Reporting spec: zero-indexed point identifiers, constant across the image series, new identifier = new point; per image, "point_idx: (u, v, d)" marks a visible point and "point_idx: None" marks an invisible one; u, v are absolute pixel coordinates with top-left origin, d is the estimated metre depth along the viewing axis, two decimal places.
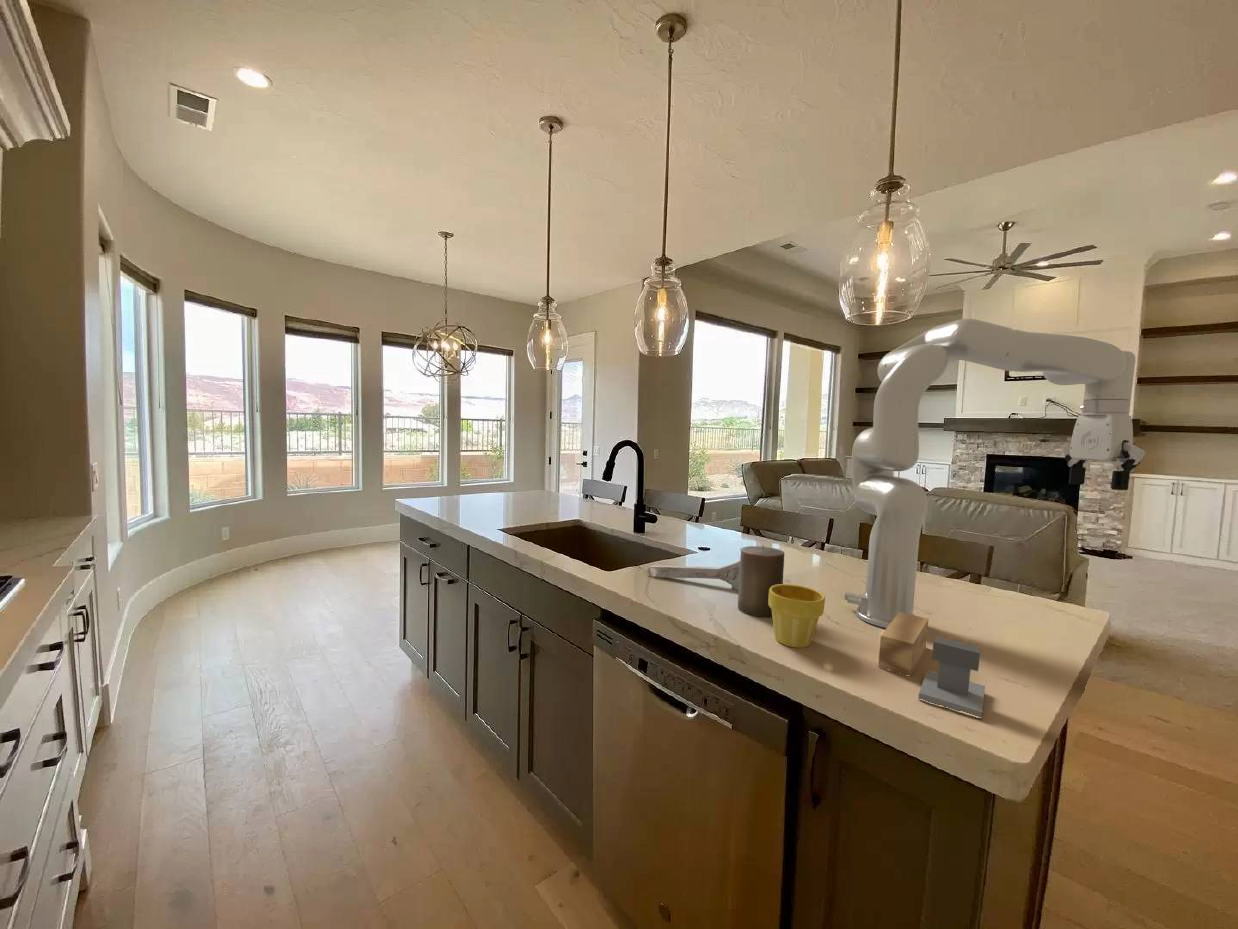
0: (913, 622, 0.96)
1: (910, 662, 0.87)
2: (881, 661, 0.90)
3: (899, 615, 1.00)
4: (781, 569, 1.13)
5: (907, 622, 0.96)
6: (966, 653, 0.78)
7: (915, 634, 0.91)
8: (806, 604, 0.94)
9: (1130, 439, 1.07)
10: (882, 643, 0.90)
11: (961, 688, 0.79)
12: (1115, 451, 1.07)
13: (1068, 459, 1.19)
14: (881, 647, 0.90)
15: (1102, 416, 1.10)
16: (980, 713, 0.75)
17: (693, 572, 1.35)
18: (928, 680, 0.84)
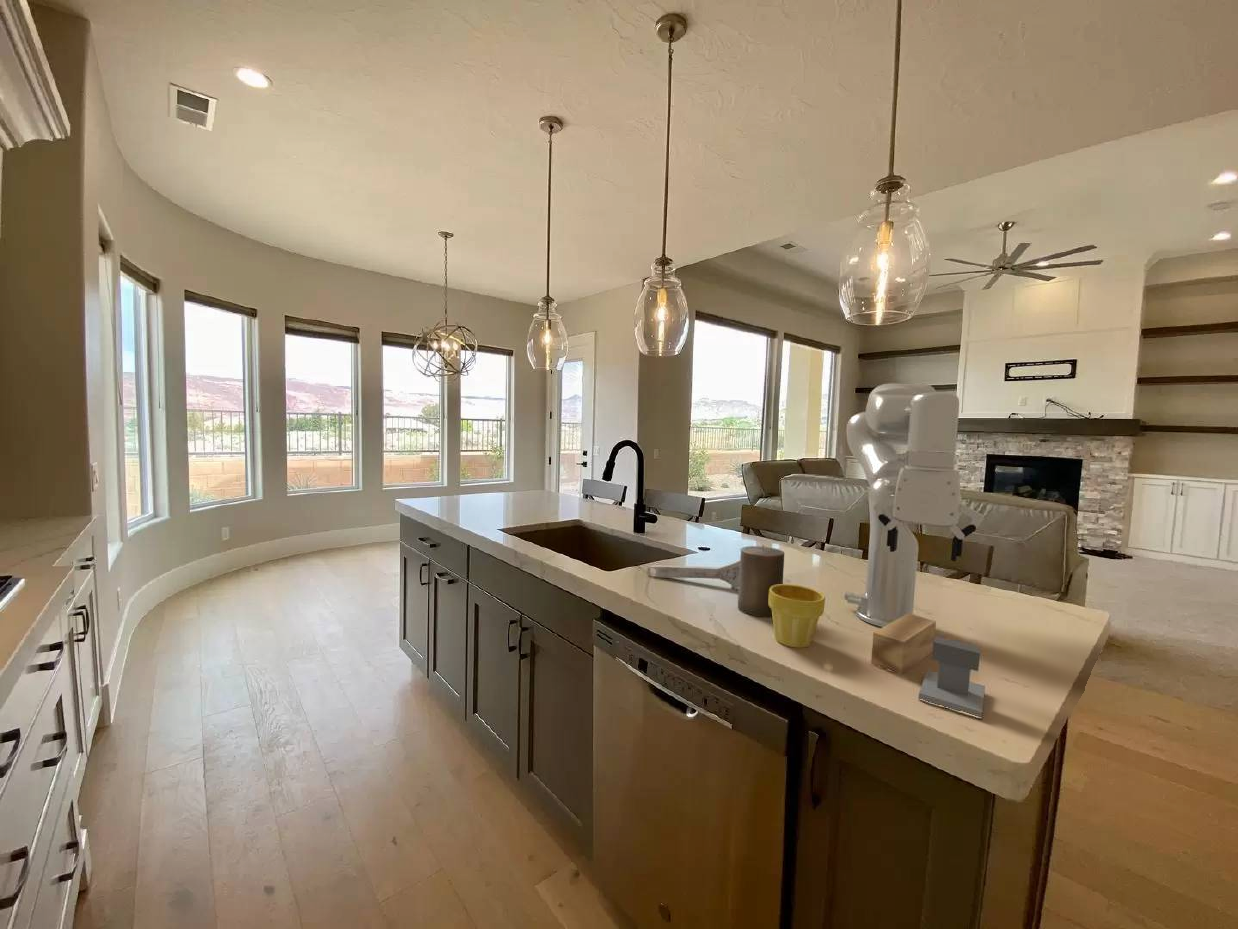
0: (916, 623, 0.96)
1: (901, 660, 0.88)
2: (874, 658, 0.91)
3: (905, 616, 1.00)
4: (781, 569, 1.13)
5: (910, 623, 0.96)
6: (966, 653, 0.78)
7: (912, 634, 0.91)
8: (806, 604, 0.94)
9: None
10: (875, 640, 0.91)
11: (961, 688, 0.79)
12: (958, 516, 0.89)
13: (883, 520, 0.97)
14: (874, 644, 0.91)
15: (940, 472, 0.90)
16: (980, 713, 0.75)
17: (693, 572, 1.35)
18: (928, 680, 0.84)
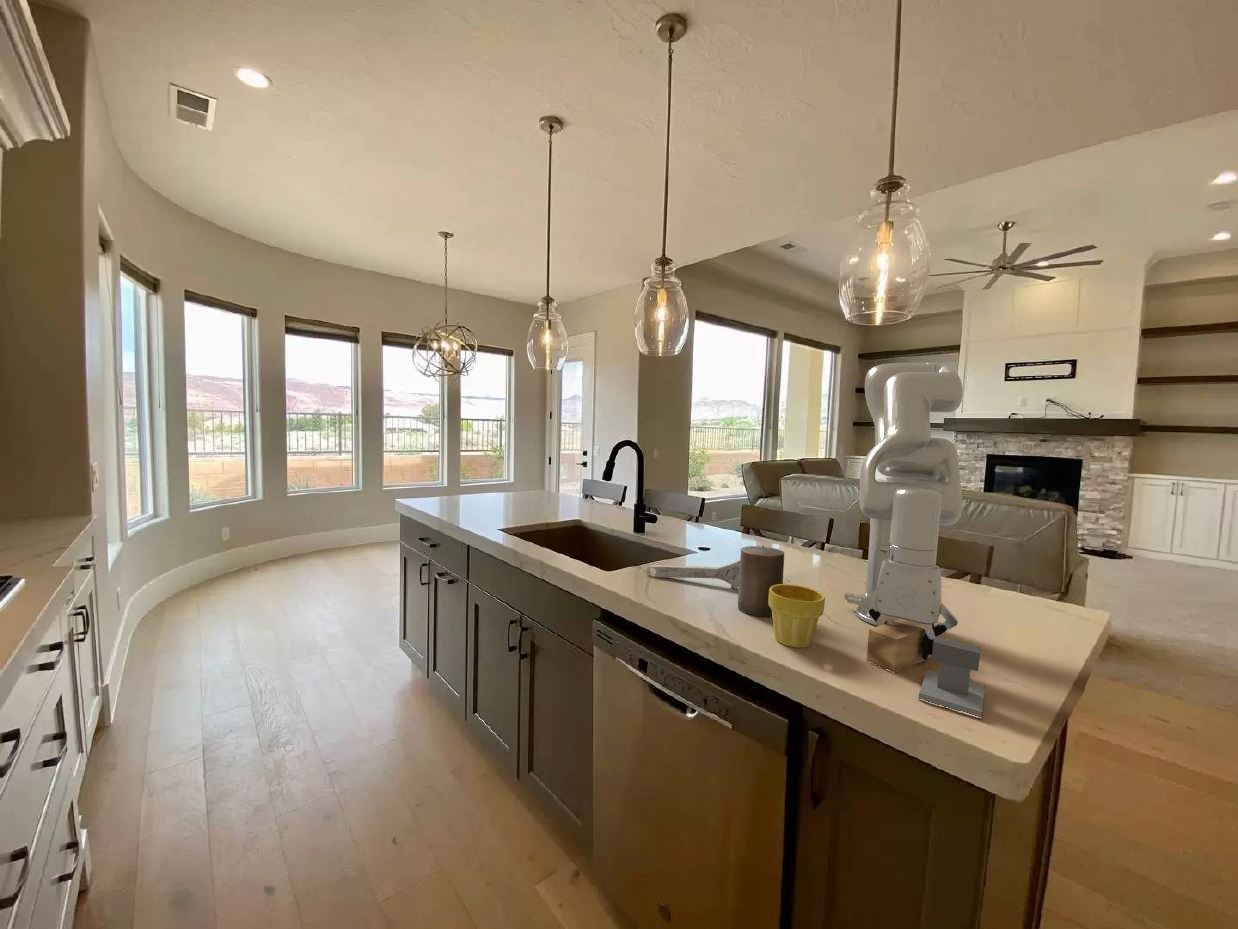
0: (919, 624, 0.95)
1: (894, 657, 0.88)
2: (869, 654, 0.92)
3: None
4: (781, 569, 1.13)
5: (912, 623, 0.96)
6: (966, 653, 0.78)
7: (909, 632, 0.91)
8: (806, 604, 0.94)
9: None
10: (870, 637, 0.92)
11: (961, 688, 0.79)
12: (938, 614, 0.89)
13: (874, 615, 0.97)
14: (869, 641, 0.92)
15: (921, 570, 0.90)
16: (980, 713, 0.75)
17: (692, 572, 1.35)
18: (928, 680, 0.84)
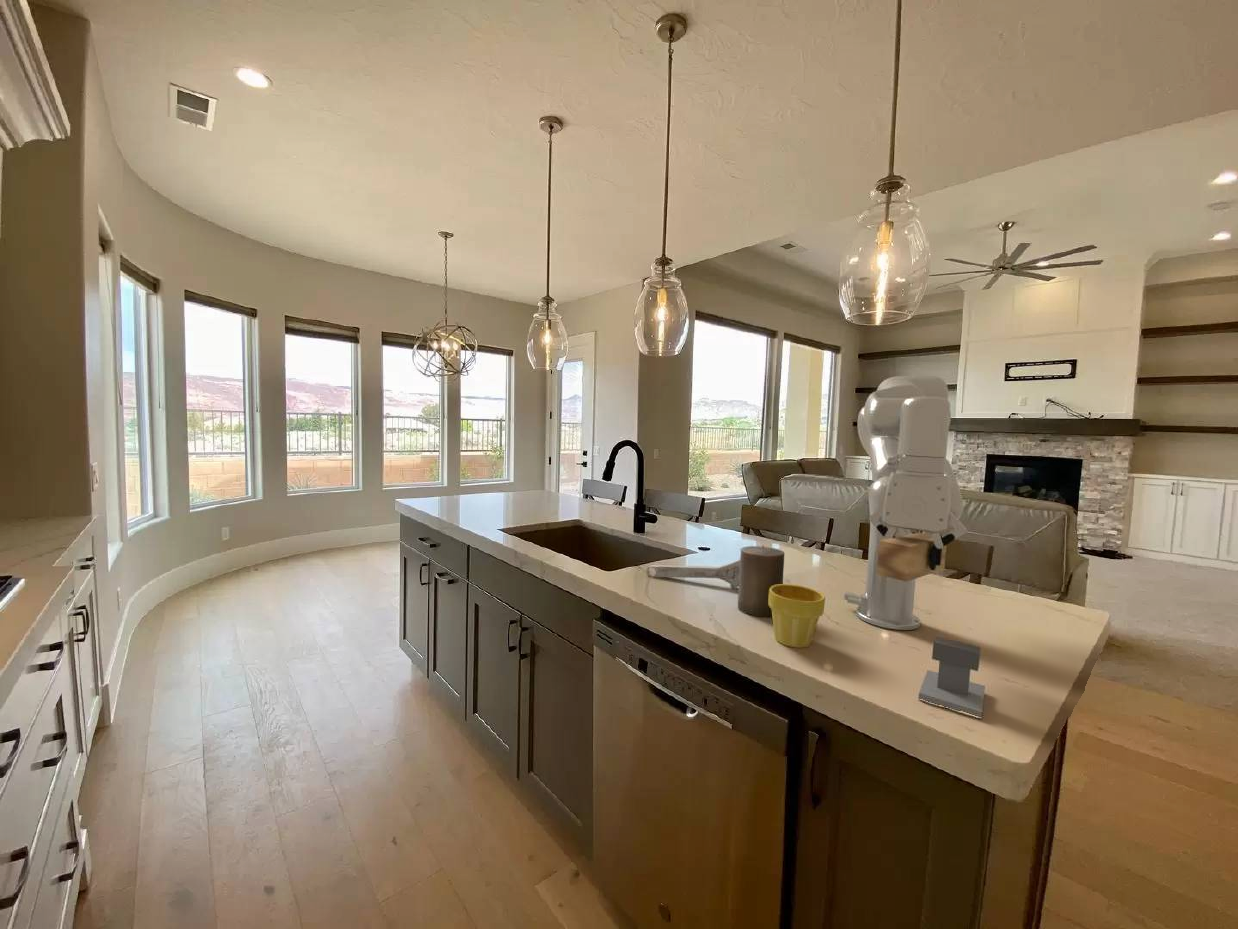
0: (925, 538, 0.94)
1: (906, 565, 0.86)
2: (879, 566, 0.90)
3: (916, 534, 0.98)
4: (781, 569, 1.13)
5: (919, 537, 0.95)
6: (966, 653, 0.78)
7: (919, 542, 0.90)
8: (806, 604, 0.94)
9: None
10: (880, 548, 0.90)
11: (961, 688, 0.79)
12: (947, 521, 0.88)
13: (882, 530, 0.95)
14: (879, 552, 0.90)
15: (930, 477, 0.89)
16: (980, 713, 0.75)
17: (692, 572, 1.35)
18: (928, 680, 0.84)
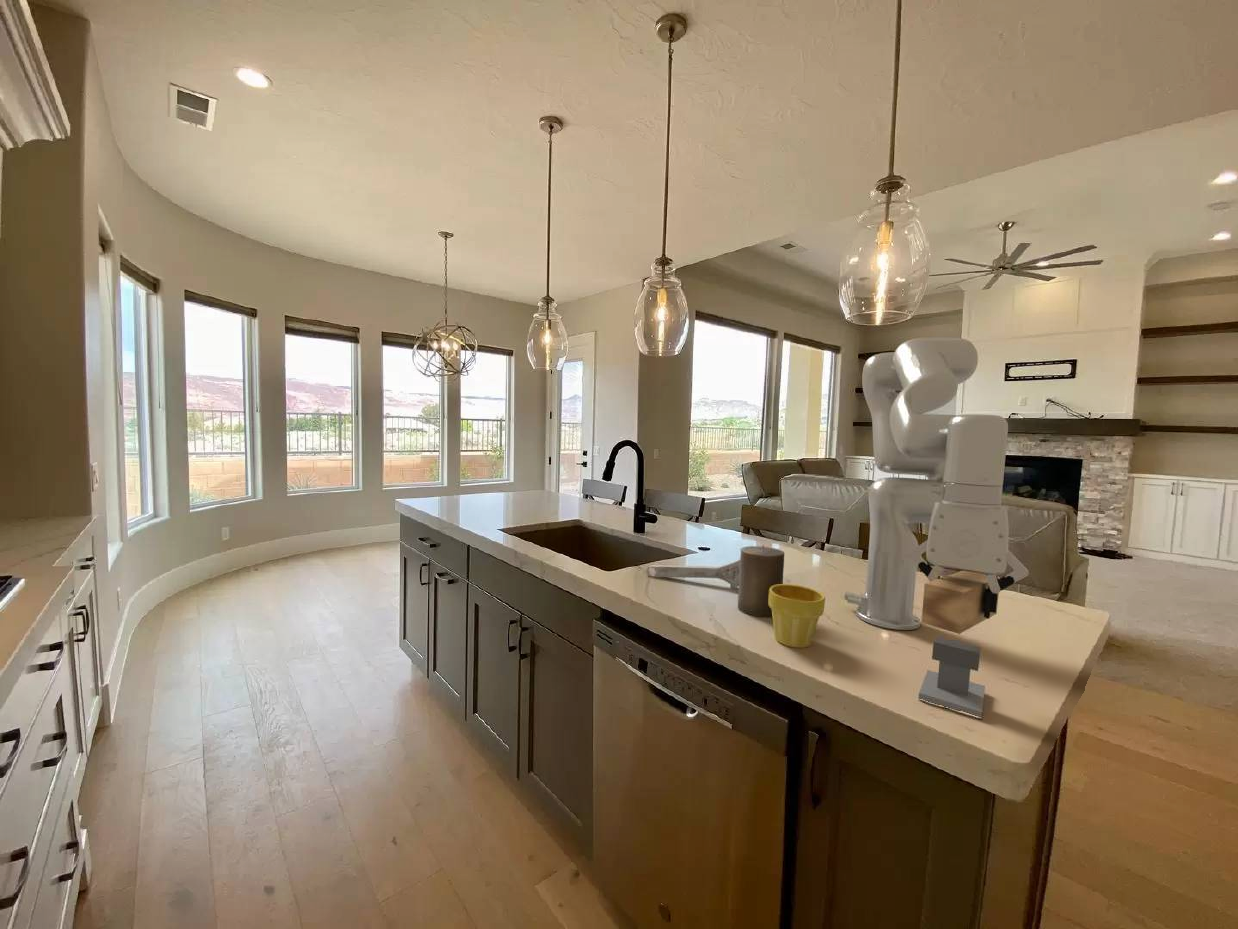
0: (976, 578, 0.81)
1: (959, 614, 0.73)
2: (925, 614, 0.76)
3: (962, 571, 0.85)
4: (781, 569, 1.13)
5: (968, 577, 0.81)
6: (966, 653, 0.78)
7: (972, 586, 0.76)
8: (806, 604, 0.94)
9: None
10: (926, 592, 0.76)
11: (961, 688, 0.79)
12: (1006, 562, 0.74)
13: (925, 569, 0.82)
14: (925, 597, 0.76)
15: (985, 510, 0.75)
16: (980, 713, 0.75)
17: (692, 571, 1.35)
18: (928, 680, 0.84)
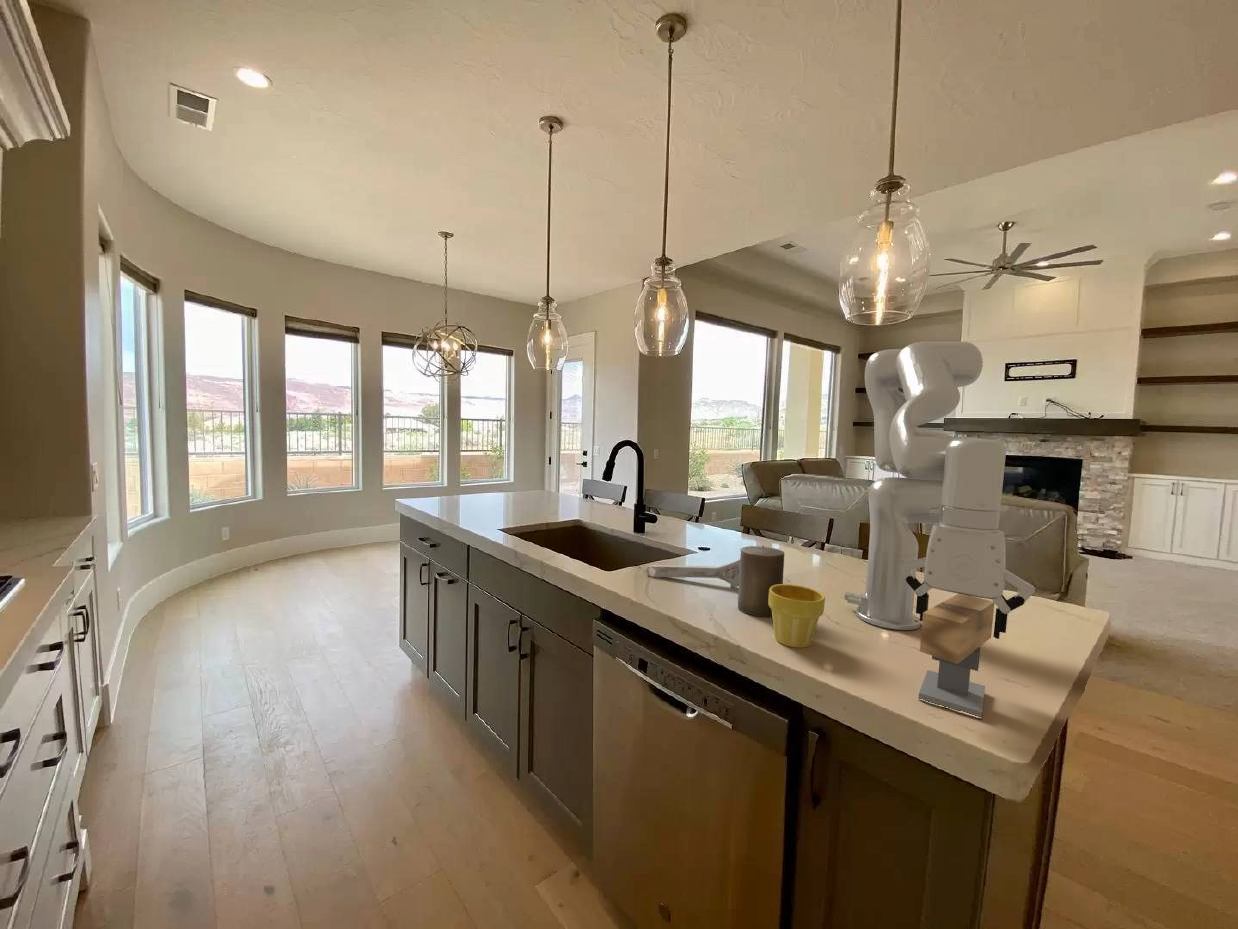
0: (972, 604, 0.81)
1: (958, 645, 0.73)
2: (923, 643, 0.77)
3: (957, 596, 0.85)
4: (781, 569, 1.13)
5: (964, 603, 0.82)
6: None
7: (969, 614, 0.77)
8: (806, 604, 0.94)
9: None
10: (925, 622, 0.77)
11: (961, 688, 0.79)
12: (1003, 586, 0.75)
13: (912, 583, 0.83)
14: (923, 626, 0.77)
15: (982, 534, 0.76)
16: (980, 713, 0.75)
17: (692, 571, 1.35)
18: (928, 680, 0.84)
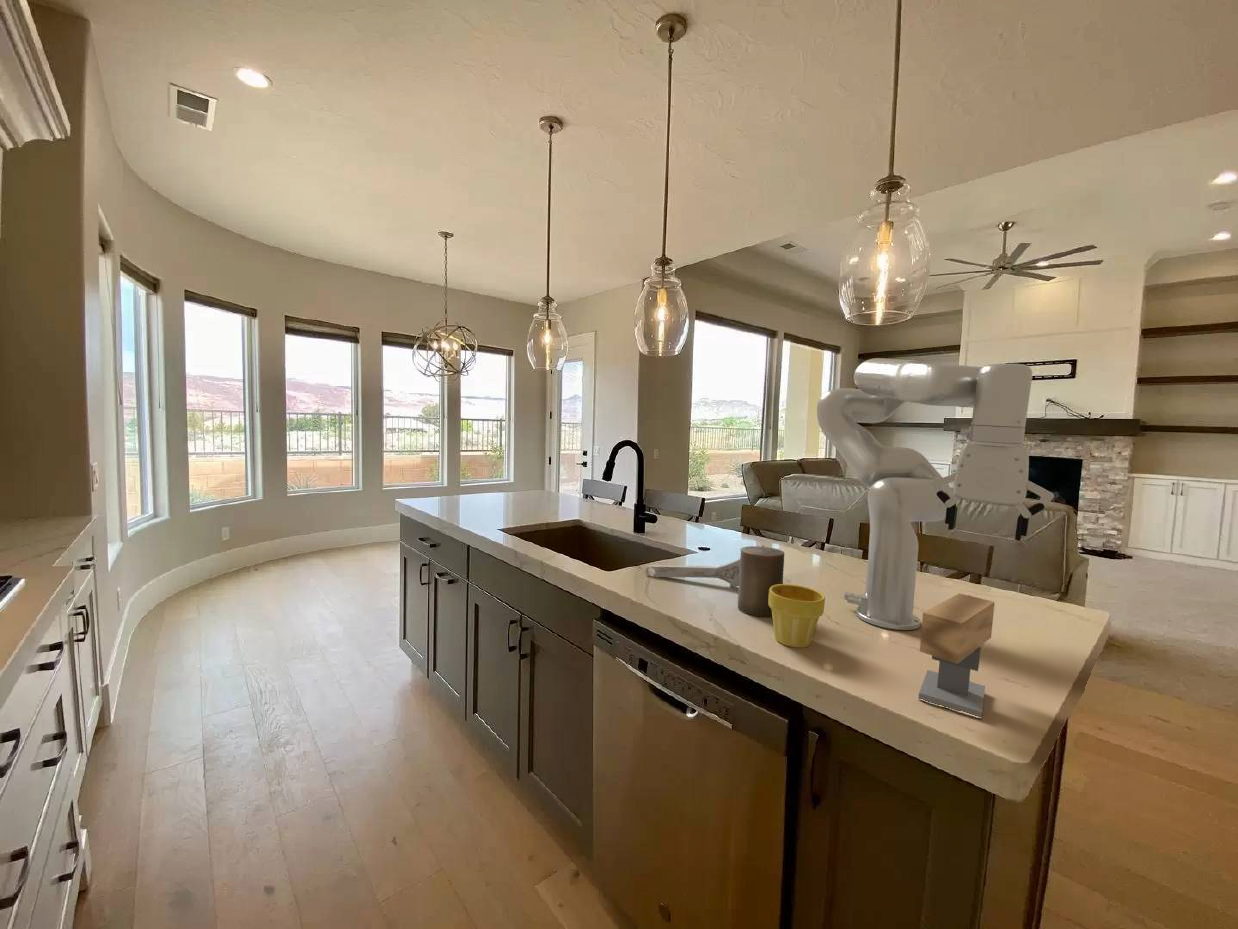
0: (972, 604, 0.81)
1: (958, 645, 0.73)
2: (923, 643, 0.77)
3: (957, 596, 0.85)
4: (781, 569, 1.13)
5: (964, 603, 0.82)
6: None
7: (969, 614, 0.77)
8: (806, 604, 0.94)
9: None
10: (925, 622, 0.77)
11: (961, 688, 0.79)
12: (1025, 494, 0.85)
13: (942, 497, 0.93)
14: (923, 626, 0.77)
15: (1008, 448, 0.85)
16: (980, 713, 0.75)
17: (691, 571, 1.35)
18: (928, 680, 0.84)
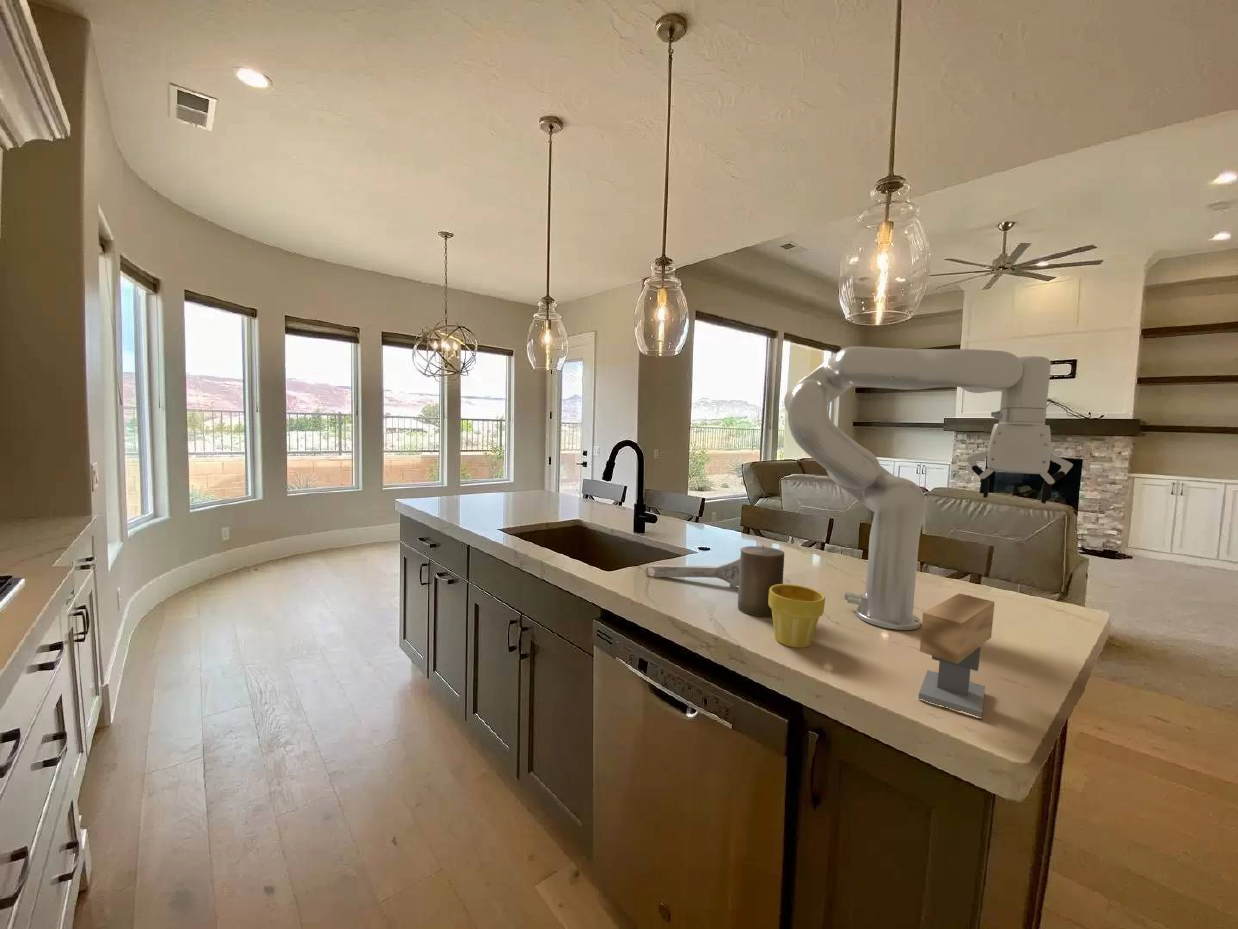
0: (972, 604, 0.81)
1: (958, 645, 0.73)
2: (923, 643, 0.77)
3: (957, 596, 0.85)
4: (781, 569, 1.13)
5: (964, 603, 0.82)
6: None
7: (969, 614, 0.77)
8: (806, 604, 0.94)
9: None
10: (925, 622, 0.77)
11: (961, 688, 0.79)
12: (1049, 463, 1.02)
13: (977, 470, 1.10)
14: (923, 626, 0.77)
15: (1033, 426, 1.03)
16: (980, 713, 0.75)
17: (691, 571, 1.36)
18: (928, 680, 0.84)
